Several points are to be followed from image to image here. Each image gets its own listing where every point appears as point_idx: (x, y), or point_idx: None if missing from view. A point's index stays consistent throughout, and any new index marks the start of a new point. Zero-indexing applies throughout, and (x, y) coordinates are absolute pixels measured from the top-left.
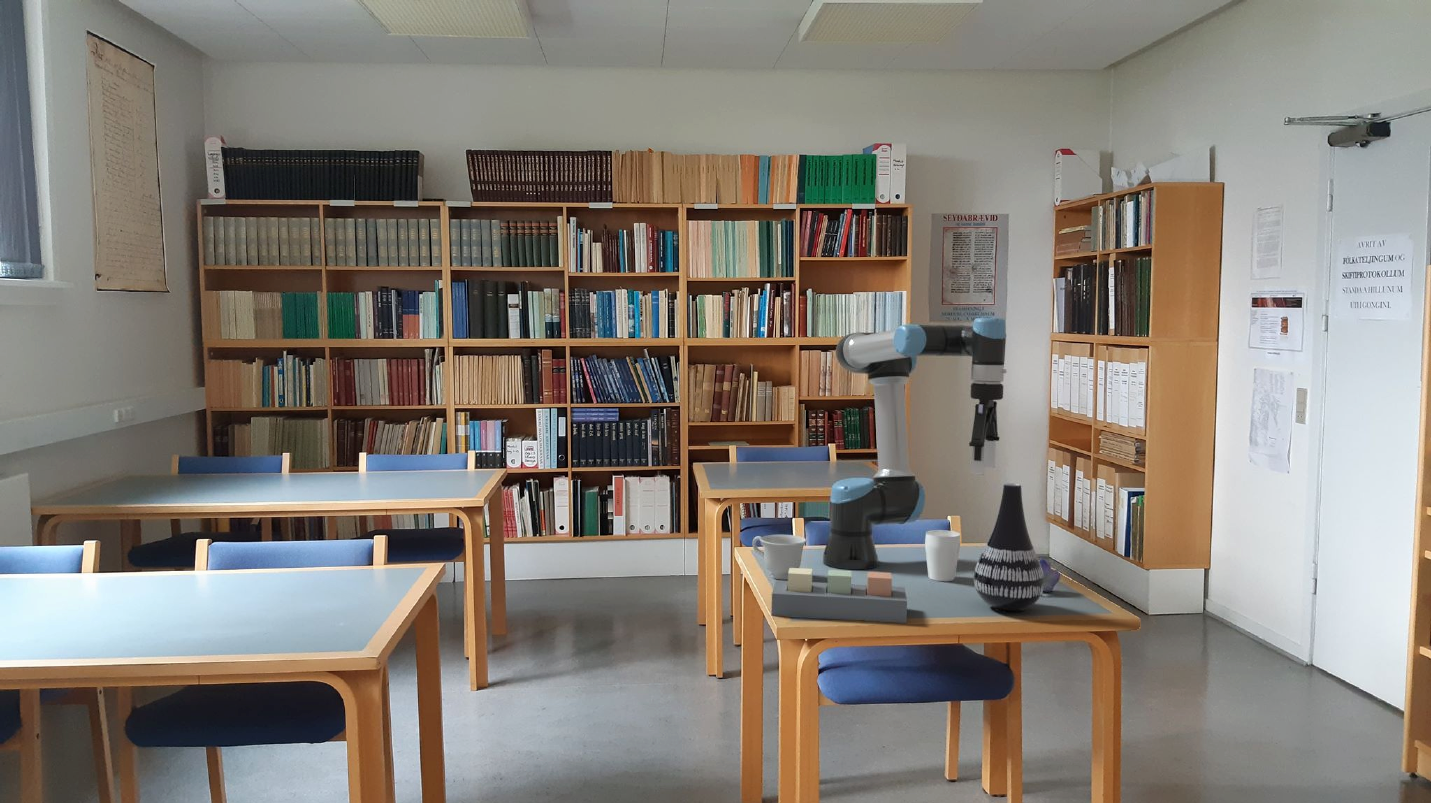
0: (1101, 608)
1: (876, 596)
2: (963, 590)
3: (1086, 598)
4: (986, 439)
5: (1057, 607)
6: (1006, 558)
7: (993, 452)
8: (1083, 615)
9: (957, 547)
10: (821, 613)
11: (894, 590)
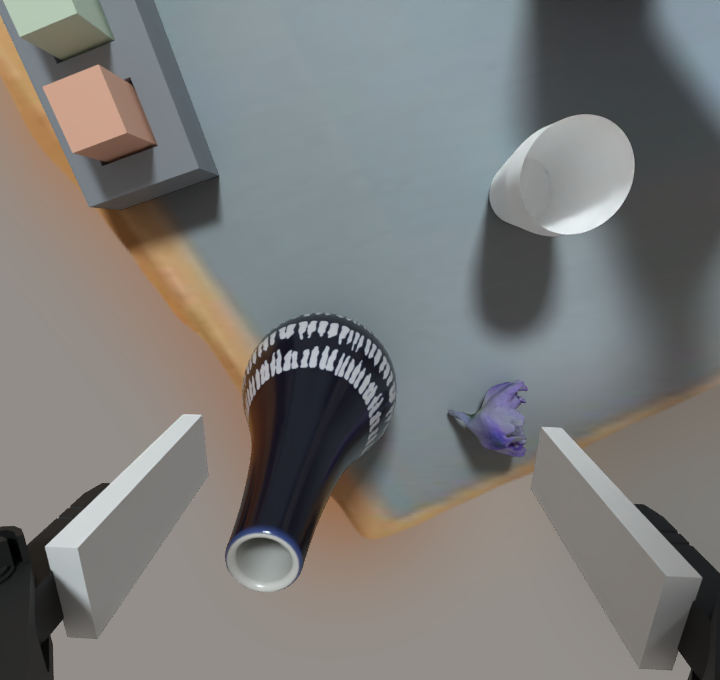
0: (414, 506)
1: None
2: (429, 263)
3: (474, 482)
4: (714, 603)
5: (384, 443)
6: (246, 416)
7: (582, 560)
8: (353, 483)
9: (534, 232)
10: None
11: (155, 153)
